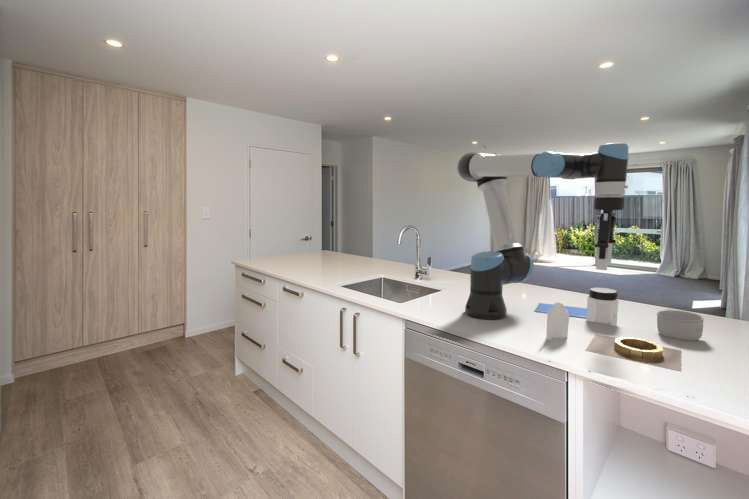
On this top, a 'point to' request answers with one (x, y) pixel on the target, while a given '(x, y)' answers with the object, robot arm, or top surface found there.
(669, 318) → the teacup
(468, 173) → the robot arm
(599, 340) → the walnut board
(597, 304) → the jar
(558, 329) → the white tall rounded piece
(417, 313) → the top surface
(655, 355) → the collar
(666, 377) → the top surface
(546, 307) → the tablet computer
